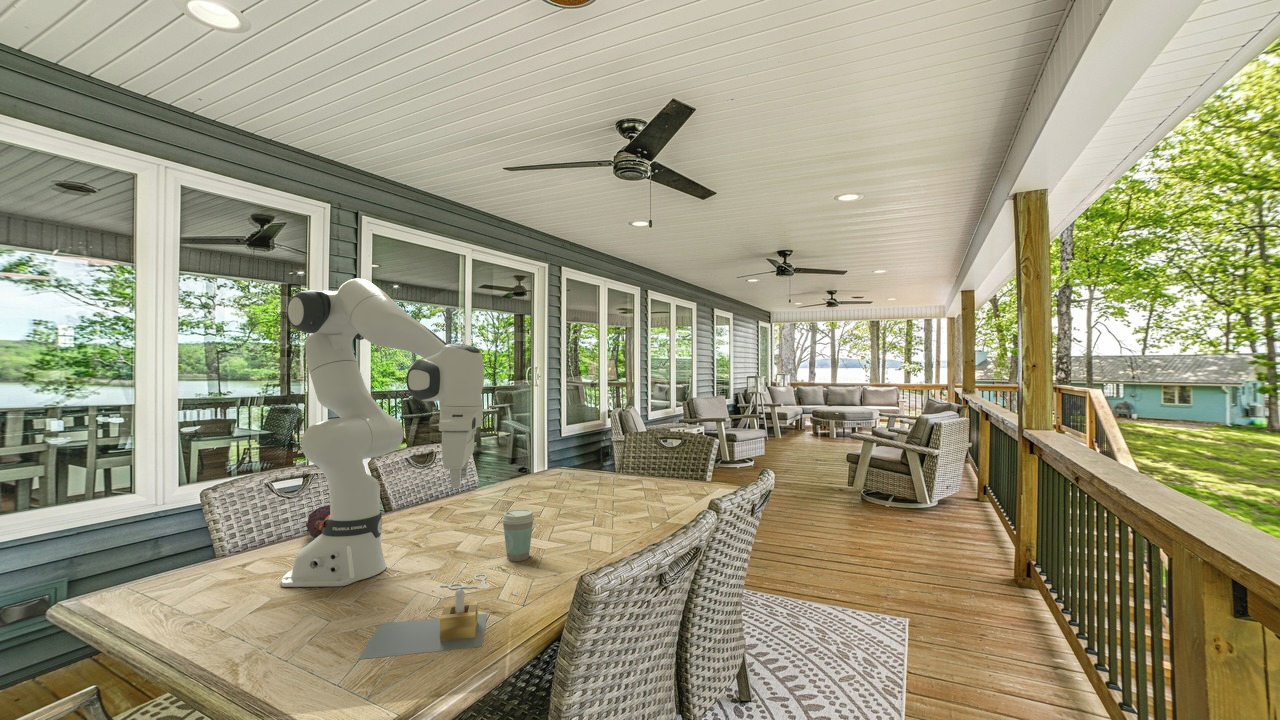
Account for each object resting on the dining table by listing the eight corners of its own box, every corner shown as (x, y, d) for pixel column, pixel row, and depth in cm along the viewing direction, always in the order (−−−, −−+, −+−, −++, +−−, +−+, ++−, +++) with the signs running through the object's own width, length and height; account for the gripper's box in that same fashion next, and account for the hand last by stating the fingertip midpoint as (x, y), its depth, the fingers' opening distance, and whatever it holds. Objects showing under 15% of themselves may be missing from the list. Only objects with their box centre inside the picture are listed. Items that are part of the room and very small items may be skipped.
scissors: (477, 571, 131) (532, 589, 119) (477, 575, 131) (532, 593, 119) (439, 585, 122) (495, 606, 111) (439, 589, 122) (495, 610, 111)
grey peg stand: (358, 668, 88) (358, 612, 88) (380, 631, 101) (380, 582, 101) (481, 654, 92) (481, 601, 92) (487, 621, 105) (487, 574, 105)
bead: (439, 641, 94) (440, 618, 94) (445, 625, 100) (445, 604, 100) (474, 637, 95) (474, 615, 96) (477, 622, 101) (477, 601, 101)
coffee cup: (504, 552, 146) (504, 509, 146) (535, 551, 146) (535, 508, 147) (499, 563, 137) (499, 517, 137) (532, 562, 138) (532, 516, 138)
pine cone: (297, 536, 161) (297, 504, 162) (332, 529, 169) (332, 498, 169) (317, 548, 150) (318, 513, 150) (354, 540, 157) (354, 506, 158)
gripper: (453, 413, 123) (451, 472, 123) (437, 423, 103) (434, 493, 103) (481, 414, 124) (479, 472, 124) (470, 423, 104) (468, 493, 104)
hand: (459, 482), depth 113 cm, fingers open, 8 cm apart
